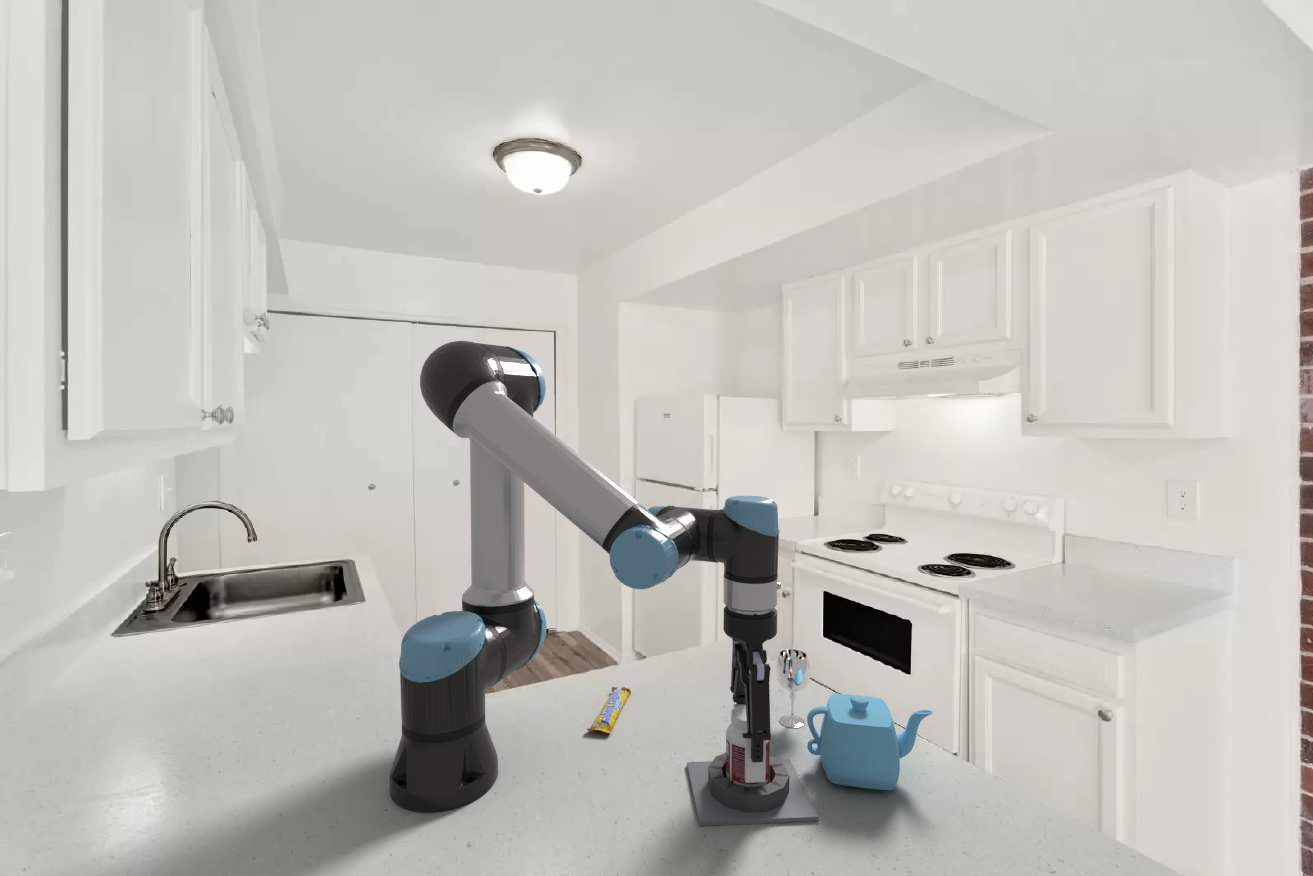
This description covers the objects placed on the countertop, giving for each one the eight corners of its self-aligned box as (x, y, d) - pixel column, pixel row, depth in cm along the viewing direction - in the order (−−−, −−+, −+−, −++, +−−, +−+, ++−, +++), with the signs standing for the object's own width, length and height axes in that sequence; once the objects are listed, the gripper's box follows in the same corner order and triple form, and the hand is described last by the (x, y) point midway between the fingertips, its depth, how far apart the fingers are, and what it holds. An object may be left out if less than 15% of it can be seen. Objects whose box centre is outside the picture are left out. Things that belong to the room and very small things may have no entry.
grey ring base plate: (699, 826, 84) (699, 804, 84) (687, 765, 98) (687, 747, 98) (818, 821, 85) (818, 799, 85) (789, 762, 99) (789, 743, 99)
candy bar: (611, 693, 123) (611, 684, 123) (632, 695, 123) (632, 685, 123) (585, 738, 107) (585, 727, 107) (610, 740, 106) (609, 729, 106)
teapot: (940, 806, 88) (942, 726, 88) (807, 789, 92) (808, 712, 92) (922, 758, 100) (924, 687, 100) (805, 745, 104) (806, 676, 104)
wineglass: (812, 717, 113) (813, 651, 112) (805, 733, 108) (806, 663, 107) (779, 711, 116) (780, 646, 115) (771, 725, 110) (772, 657, 110)
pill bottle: (778, 791, 90) (779, 716, 90) (746, 807, 87) (746, 729, 86) (749, 770, 96) (749, 698, 95) (717, 784, 92) (717, 710, 91)
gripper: (797, 632, 80) (794, 808, 81) (759, 585, 101) (757, 726, 102) (738, 633, 80) (736, 810, 81) (712, 586, 100) (711, 727, 101)
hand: (748, 763), depth 91 cm, fingers open, 8 cm apart
